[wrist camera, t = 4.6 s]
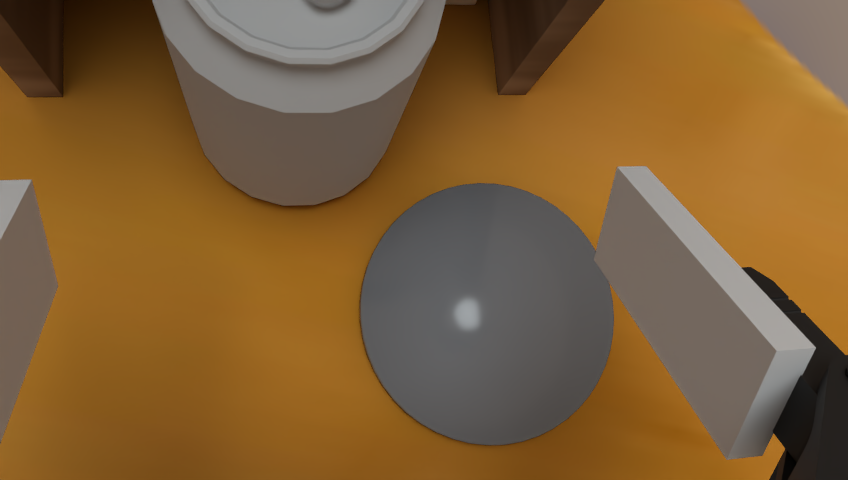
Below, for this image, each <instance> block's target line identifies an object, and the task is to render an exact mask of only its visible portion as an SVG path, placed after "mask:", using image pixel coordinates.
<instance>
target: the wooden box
mask: <svg viewBox="0 0 848 480" xmlns="http://www.w3.org/2000/svg"><path fill="white" fill-rule="evenodd" d="M603 2H604V0H488V5H489V14H490V23H491V33H492V42H493V51H494V60H495V70H496V79H497V88H498V95H526V93H527V92H528V91H529V90H530V89H531V87H532V86H533V85H534V84H535V83H536V81H537V80H538V79H539V78H540V77H541V76H542V74H543V73H544V72H545V71H546V70H547V68H548V67H549V66H550V65H551V64H552V62H553V61H554V60H555V59H556V58H557V56H558V55H559V54H560V53H561V52H562V50H563V49H564V48H565V47H566V46H567V45H568V43H569V42H570V41H571V40H572V39H573V37H574V36H575V35H576V34H577V33H578V31H579V30H580V29H581V28H582V27H583V25H584V24H585V23H586V22H587V21H588V20H589V18H590V17H591V16H592V15H593V14H594V12H595V11H596V10H597V9H598V8H599V6H600V5H601V4H602V3H603ZM63 13H64V0H0V66H1V67H2V68H3V69H4V71H5V72H6V73H7V74H8V75H9V76H10V78H11V79H12V80H13V81H14V82H15V83H16V84H17V86H18V87H19V88H20V89H21V90H22V91H23V92H24V94H25V95H26V96H27V97H63Z"/></svg>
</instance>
